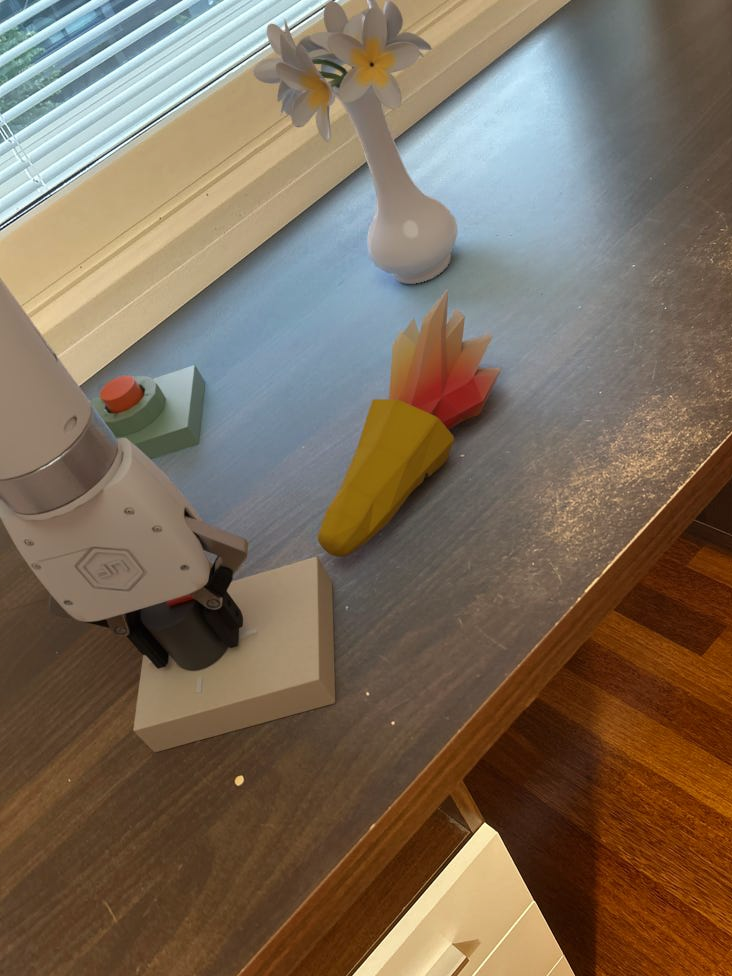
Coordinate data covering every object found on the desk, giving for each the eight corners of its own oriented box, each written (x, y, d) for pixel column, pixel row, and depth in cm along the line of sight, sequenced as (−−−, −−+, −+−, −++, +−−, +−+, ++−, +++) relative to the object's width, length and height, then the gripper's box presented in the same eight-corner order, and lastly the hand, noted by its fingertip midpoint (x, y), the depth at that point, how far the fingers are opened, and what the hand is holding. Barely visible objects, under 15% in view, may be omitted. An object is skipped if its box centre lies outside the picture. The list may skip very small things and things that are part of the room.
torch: (357, 596, 83) (474, 366, 92) (411, 584, 77) (531, 338, 86) (276, 538, 79) (407, 303, 88) (326, 520, 73) (461, 270, 82)
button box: (84, 480, 98) (60, 450, 95) (98, 417, 104) (75, 386, 101) (199, 444, 96) (177, 411, 93) (205, 382, 103) (185, 349, 100)
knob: (173, 677, 73) (134, 633, 70) (177, 632, 76) (140, 586, 72) (229, 662, 73) (193, 615, 69) (232, 616, 76) (197, 569, 72)
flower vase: (381, 227, 112) (285, -21, 93) (522, 236, 103) (446, -37, 84) (313, 299, 107) (197, 52, 88) (455, 316, 97) (359, 43, 79)
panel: (154, 753, 74) (131, 729, 71) (168, 629, 81) (148, 604, 79) (335, 703, 72) (318, 677, 69) (332, 581, 79) (316, 554, 77)
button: (107, 419, 97) (97, 404, 95) (112, 396, 99) (102, 381, 98) (142, 407, 96) (132, 393, 95) (145, 385, 99) (136, 370, 97)
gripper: (-89, 542, 59) (87, 714, 73) (177, 457, 57) (309, 651, 71) (-60, 459, 64) (101, 635, 78) (187, 378, 62) (308, 574, 75)
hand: (198, 641), depth 74 cm, fingers open, 4 cm apart
